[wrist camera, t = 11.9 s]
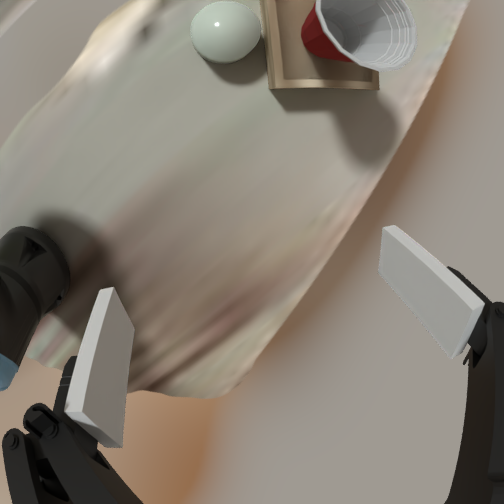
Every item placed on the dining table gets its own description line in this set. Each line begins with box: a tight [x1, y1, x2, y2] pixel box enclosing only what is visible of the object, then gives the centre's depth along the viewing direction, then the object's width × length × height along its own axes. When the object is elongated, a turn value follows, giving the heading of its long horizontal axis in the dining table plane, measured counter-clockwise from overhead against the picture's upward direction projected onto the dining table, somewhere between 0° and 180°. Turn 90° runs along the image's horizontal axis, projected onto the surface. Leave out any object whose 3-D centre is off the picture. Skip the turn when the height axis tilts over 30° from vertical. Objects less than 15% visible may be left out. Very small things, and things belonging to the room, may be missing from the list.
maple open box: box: [259, 0, 379, 90], centre depth 29 cm, size 14×14×4 cm
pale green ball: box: [191, 1, 261, 64], centre depth 28 cm, size 8×8×4 cm
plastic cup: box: [301, 0, 417, 72], centre depth 22 cm, size 11×11×12 cm
